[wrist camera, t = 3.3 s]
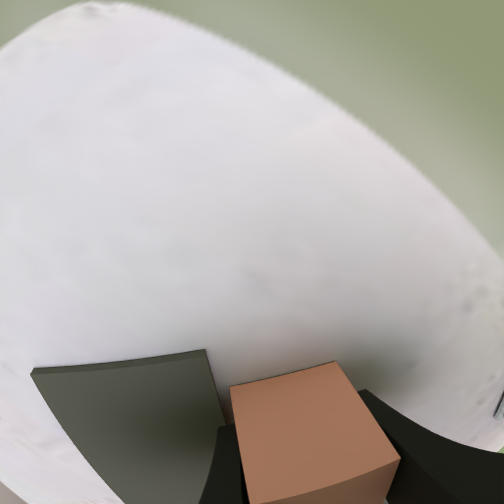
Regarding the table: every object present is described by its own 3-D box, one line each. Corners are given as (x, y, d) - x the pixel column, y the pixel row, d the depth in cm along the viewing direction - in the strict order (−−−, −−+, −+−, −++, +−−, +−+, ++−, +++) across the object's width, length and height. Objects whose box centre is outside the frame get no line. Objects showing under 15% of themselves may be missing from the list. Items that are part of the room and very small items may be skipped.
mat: (205, 349, 10) (205, 356, 9) (251, 492, 13) (252, 498, 12) (33, 368, 9) (29, 374, 9) (128, 501, 12) (127, 506, 12)
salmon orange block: (335, 360, 11) (400, 457, 6) (331, 485, 14) (360, 550, 9) (229, 386, 10) (250, 505, 6) (264, 503, 13) (282, 572, 8)
